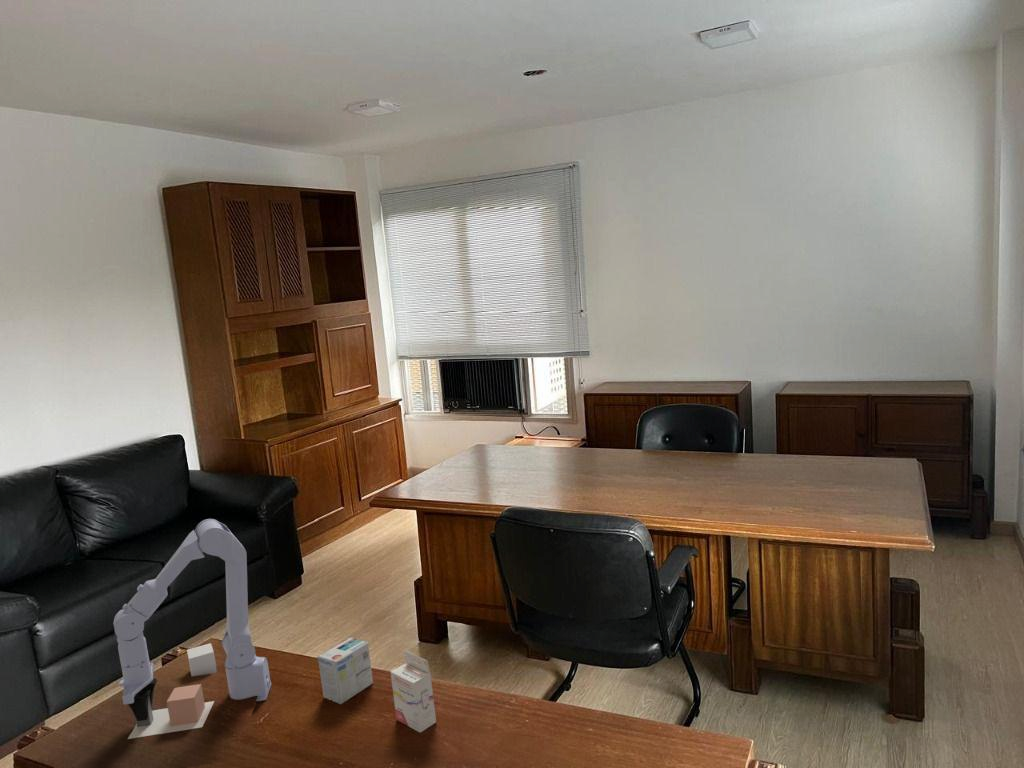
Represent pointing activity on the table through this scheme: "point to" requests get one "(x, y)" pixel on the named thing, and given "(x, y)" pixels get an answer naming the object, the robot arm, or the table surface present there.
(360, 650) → the light bulb box
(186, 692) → the block
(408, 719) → the ink cartridge box
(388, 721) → the table surface
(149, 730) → the white flat board
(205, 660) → the white block
